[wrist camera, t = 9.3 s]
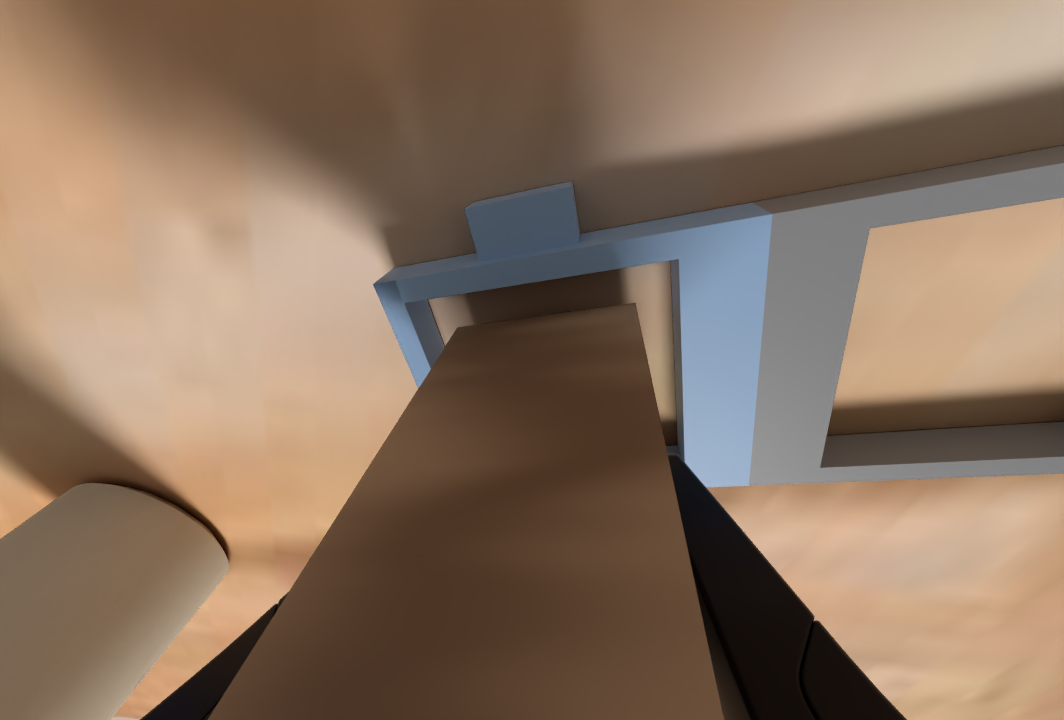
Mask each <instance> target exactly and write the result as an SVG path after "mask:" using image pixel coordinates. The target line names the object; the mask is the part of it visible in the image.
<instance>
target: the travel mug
mask: <svg viewBox="0 0 1064 720" xmlns="http://www.w3.org/2000/svg"><path fill="white" fill-rule="evenodd" d="M228 569H229V564H228V559H227V557H226V554H225V552H224V550H223V548H222V547H221V545H220V544H219V542H218V541H217V540H216V538H215V537H214V535H213V534H212V532H211V531H210V530H209V529H208V528H207V527H206V526H205V525H204V524H202V523H201V522H200V521H199V520H197V519H196V518H194V517H193V516H191V515H190V514H188V513H187V512H185V511H184V510H182V509H181V508H179V507H178V506H176V505H174V504H172V503H170V502H168V501H166V500H163V499H161V498H159V497H157V496H154V495H152V494H150V493H148V492H145V491H142V490H138V489H134V488H129V487H124V486H119V485H111V484H102V483H85V484H80V485H77V486H74V487H72V488H71V489H69V490H68V491H67V492H65V493H64V494H62V495H61V496H60V497H58V498H57V499H55V500H54V501H53V502H51V503H50V504H48V505H47V506H46V507H44V508H43V509H42V510H40V511H39V512H37V513H36V514H35V515H33V516H32V517H30V518H29V519H28V520H26V521H25V522H23V523H22V524H21V525H19V526H18V527H16V528H15V529H14V530H12V531H11V532H9V533H8V534H7V535H5V536H4V537H2V538H1V539H0V720H111V719H112V717H113V716H114V715H115V714H116V712H117V711H118V710H119V709H120V707H121V706H122V705H123V704H124V702H125V701H126V700H127V699H128V697H129V696H130V695H131V693H132V692H133V691H134V690H135V688H136V687H137V686H138V685H139V683H140V682H141V681H142V680H143V678H144V677H145V676H146V675H147V673H148V672H149V671H150V670H151V668H152V667H153V666H154V665H155V663H156V662H157V661H158V660H159V658H160V657H161V656H162V655H163V653H164V652H165V651H166V650H167V648H168V647H169V646H170V645H171V643H172V642H173V641H174V640H175V638H176V637H177V636H178V635H179V633H180V632H181V631H182V629H183V628H184V627H185V626H186V624H187V623H188V622H189V621H190V619H191V618H192V617H193V616H194V614H195V613H196V612H197V611H198V609H199V608H200V607H201V606H202V604H203V603H204V602H205V601H206V599H207V598H208V597H209V596H210V594H211V593H212V592H213V591H214V589H215V588H216V587H217V586H218V584H219V583H220V582H221V581H222V579H223V578H224V577H225V576H226V574H227V572H228Z"/></svg>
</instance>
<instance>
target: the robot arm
mask: <svg viewBox="0 0 1064 720" xmlns="http://www.w3.org/2000/svg"><path fill="white" fill-rule="evenodd" d="M668 459H669V464H670V468H671V473H672V478H673V482H674V487H675V492H676V497H677V501H678V506H679V511H680V515H681V520H682V525H683V529H684V534H685V539H686V544H687V548H688V553H689V558H690V562H691V567H692V572H693V577H694V581H695V586H696V591H697V595H698V600H699V605H700V609H701V614H702V619H703V624H704V628H705V633H706V638H707V642H708V647H709V652H710V656H711V661H712V666H713V671H714V675H715V680H716V685H717V689H718V694H719V699H720V704H721V708H722V713H723V718H724V720H907V719H906V718H905V717H904V716H903V715H902V714H901V713H900V712H899V711H898V710H897V709H896V708H895V707H894V706H893V705H892V704H891V703H890V701H889V700H888V699H887V698H886V697H885V696H884V695H883V694H882V693H881V692H880V691H879V690H878V689H877V688H876V686H875V685H874V684H873V683H872V682H871V681H870V680H869V678H868V677H867V676H866V675H865V674H864V673H863V672H862V671H861V669H860V668H859V667H858V666H857V665H856V664H855V663H854V661H853V660H852V659H851V658H850V657H849V656H848V655H847V654H846V652H845V651H844V650H843V649H842V648H841V647H840V645H839V644H838V643H837V642H836V641H835V639H834V638H833V637H832V636H831V635H830V634H829V632H828V631H827V630H826V629H825V628H824V626H823V625H822V624H821V623H820V622H819V621H817V620H815V621H814V615H813V614H812V613H811V611H810V610H809V609H808V608H807V607H806V605H805V604H804V603H803V602H802V601H801V599H800V598H799V597H798V596H797V595H796V594H795V592H794V591H793V590H792V589H791V588H790V586H789V585H788V584H787V583H786V582H785V581H784V579H783V578H782V577H781V576H780V575H779V573H778V572H777V571H776V570H775V569H774V567H773V566H772V565H771V564H770V563H769V562H768V560H767V559H766V558H765V557H764V556H763V554H762V553H761V552H760V551H759V550H758V548H757V547H756V546H755V545H754V544H753V543H752V541H751V540H750V539H749V538H748V537H747V535H746V534H745V533H744V532H743V531H742V529H741V528H740V527H739V526H738V525H737V524H736V522H735V521H734V520H733V519H732V518H731V516H730V515H729V514H728V513H727V512H726V511H725V509H724V508H723V507H722V506H721V505H720V503H719V502H718V501H717V500H716V499H715V497H714V496H713V495H712V494H711V493H710V492H709V490H708V489H707V488H706V487H705V486H704V484H703V483H702V482H701V481H700V480H699V478H698V477H697V476H696V475H695V474H694V473H693V471H692V470H691V469H690V468H689V467H688V465H687V464H686V463H685V462H684V461H683V460H682V458H681V457H680V456H679V455H677V454H668ZM288 593H289V592H288ZM288 593H287V594H288ZM287 594H286V595H285V596H283V597H282V598H281V599H280V600H279V603H278V604H275V605H274V606H272V607H271V608H270V609H269V610H268V611H267V612H266V613H265V614H264V615H263V616H262V617H260V618H259V619H258V620H257V621H256V622H255V623H254V624H253V625H252V626H250V627H249V628H248V629H247V630H246V631H245V632H244V633H243V634H241V635H240V636H239V637H238V638H237V639H236V640H235V641H234V642H232V643H231V644H230V645H229V646H228V647H227V648H226V649H225V650H223V651H222V652H221V653H220V654H219V655H217V656H216V657H215V658H214V659H213V660H212V661H210V662H209V663H208V664H207V665H206V666H204V667H203V668H202V669H201V670H200V671H198V672H197V673H196V674H195V675H194V676H193V677H191V678H190V679H189V680H188V681H187V682H185V683H184V684H183V685H182V686H180V687H179V688H178V689H177V690H176V691H174V692H173V693H172V694H171V695H170V696H168V697H167V698H166V699H165V700H163V701H162V702H161V703H160V704H159V705H157V706H156V707H155V708H154V709H152V710H151V711H150V712H149V713H148V714H146V715H145V716H144V717H143V718H142V719H140V720H208V718H209V717H210V715H211V714H212V712H213V710H214V709H215V707H216V706H217V704H218V703H219V701H220V699H221V698H222V696H223V695H224V693H225V692H226V690H227V688H228V687H229V685H230V684H231V682H232V681H233V679H234V677H235V676H236V674H237V673H238V671H239V670H240V668H241V666H242V665H243V663H244V662H245V660H246V659H247V657H248V655H249V654H250V652H251V651H252V649H253V648H254V646H255V645H256V643H257V641H258V640H259V638H260V637H261V635H262V634H263V632H264V630H265V629H266V627H267V626H268V624H269V623H270V621H271V619H272V618H273V616H274V615H275V613H276V612H277V610H278V608H279V607H280V605H281V604H282V602H283V601H284V599H285V597H286V596H287ZM813 621H814V622H813Z"/></svg>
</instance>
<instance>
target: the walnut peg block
mask: <svg viewBox="0 0 1064 720" xmlns="http://www.w3.org/2000/svg"><path fill="white" fill-rule="evenodd" d="M208 720H724V718H723V713H722V708H721V704H720V699H719V694H718V689H717V685H716V680H715V675H714V671H713V666H712V661H711V656H710V652H709V647H708V642H707V638H706V633H705V628H704V624H703V619H702V614H701V609H700V605H699V600H698V595H697V591H696V586H695V581H694V577H693V572H692V567H691V562H690V558H689V553H688V548H687V544H686V539H685V534H684V529H683V525H682V520H681V515H680V511H679V506H678V501H677V497H676V492H675V487H674V482H673V478H672V473H671V468H670V464H669V459H668V454H667V450H666V445H665V440H664V435H663V431H662V426H661V421H660V417H659V412H658V407H657V402H656V398H655V393H654V388H653V384H652V379H651V374H650V370H649V365H648V360H647V355H646V351H645V346H644V341H643V337H642V332H641V327H640V323H639V318H638V313H637V308H636V304H635V303H631V304H624V305H616V306H609V307H602V308H595V309H588V310H580V311H573V312H566V313H559V314H552V315H544V316H537V317H530V318H523V319H515V320H508V321H501V322H494V323H487V324H479V325H472V326H465V327H458V328H457V329H456V331H455V332H454V334H453V335H452V337H451V338H450V340H449V342H448V343H447V345H446V346H445V348H444V349H443V351H442V353H441V354H440V356H439V357H438V359H437V360H436V362H435V364H434V365H433V367H432V368H431V370H430V371H429V373H428V375H427V376H426V378H425V379H424V381H423V382H422V384H421V386H420V387H419V389H418V390H417V392H416V393H415V395H414V397H413V398H412V400H411V401H410V403H409V404H408V406H407V408H406V409H405V411H404V412H403V414H402V415H401V417H400V419H399V420H398V422H397V423H396V425H395V426H394V428H393V429H392V431H391V433H390V434H389V436H388V437H387V439H386V440H385V442H384V444H383V445H382V447H381V448H380V450H379V451H378V453H377V455H376V456H375V458H374V459H373V461H372V462H371V464H370V466H369V467H368V469H367V470H366V472H365V473H364V475H363V477H362V478H361V480H360V481H359V483H358V484H357V486H356V488H355V489H354V491H353V492H352V494H351V495H350V497H349V499H348V500H347V502H346V503H345V505H344V506H343V508H342V510H341V511H340V513H339V514H338V516H337V517H336V519H335V521H334V522H333V524H332V525H331V527H330V528H329V530H328V532H327V533H326V535H325V536H324V538H323V539H322V541H321V542H320V544H319V546H318V547H317V549H316V550H315V552H314V553H313V555H312V557H311V558H310V560H309V561H308V563H307V564H306V566H305V568H304V569H303V571H302V572H301V574H300V575H299V577H298V579H297V580H296V582H295V583H294V585H293V586H292V588H291V590H290V591H289V593H288V594H287V596H286V597H285V599H284V601H283V602H282V604H281V605H280V607H279V608H278V610H277V612H276V613H275V615H274V616H273V618H272V619H271V621H270V623H269V624H268V626H267V627H266V629H265V630H264V632H263V634H262V635H261V637H260V638H259V640H258V641H257V643H256V645H255V646H254V648H253V649H252V651H251V652H250V654H249V655H248V657H247V659H246V660H245V662H244V663H243V665H242V666H241V668H240V670H239V671H238V673H237V674H236V676H235V677H234V679H233V681H232V682H231V684H230V685H229V687H228V688H227V690H226V692H225V693H224V695H223V696H222V698H221V699H220V701H219V703H218V704H217V706H216V707H215V709H214V710H213V712H212V714H211V715H210V717H209V718H208Z"/></svg>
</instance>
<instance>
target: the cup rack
mask: <svg viewBox="0 0 1064 720" xmlns="http://www.w3.org/2000/svg"><path fill="white" fill-rule="evenodd" d="M1063 197H1064V145H1062V146H1057V147H1051V148H1046V149H1040V150H1035V151H1029V152H1024V153H1018V154H1013V155H1008V156H1002V157H997V158H991V159H986V160H980V161H975V162H969V163H964V164H959V165H953V166H948V167H942V168H937V169H931V170H926V171H920V172H915V173H909V174H904V175H899V176H893V177H888V178H882V179H877V180H871V181H866V182H860V183H855V184H849V185H844V186H839V187H833V188H828V189H822V190H817V191H811V192H806V193H800V194H795V195H789V196H784V197H779V198H773V199H768V200H762V201H757V202H751V203H746V204H740V205H735V206H729V207H724V208H719V209H713V210H708V211H702V212H697V213H691V214H686V215H680V216H675V217H669V218H664V219H659V220H653V221H648V222H642V223H637V224H631V225H626V226H620V227H615V228H610V229H604V230H599V231H593V232H588V233H582V234H580V229H579V223H578V216H577V209H576V203H575V196H574V189H573V183H572V181H570V182H565V183H560V184H555V185H551V186H546V187H541V188H537V189H532V190H527V191H523V192H518V193H513V194H509V195H504V196H499V197H495V198H490V199H485V200H481V201H476V202H473V203H471V204H470V205H469V206H467V207H466V208H465V209H464V211H465V214H466V218H467V221H468V225H469V228H470V232H471V235H472V239H473V242H474V246H475V249H476V253H473V254H468V255H462V256H457V257H451V258H446V259H440V260H435V261H430V262H424V263H419V264H413V265H408V266H402V267H397V268H393V269H392V270H391V271H389V272H388V273H387V274H386V275H384V276H383V277H382V278H380V279H379V280H378V281H377V282H375V283H374V284H373V285H374V287H375V290H376V292H377V294H378V297H379V299H380V301H381V304H382V306H383V308H384V310H385V313H386V315H387V317H388V320H389V322H390V324H391V326H392V329H393V331H394V333H395V336H396V338H397V340H398V343H399V345H400V347H401V349H402V352H403V354H404V356H405V359H406V361H407V363H408V366H409V368H410V370H411V372H412V375H413V377H414V379H415V382H416V384H417V386H418V389H419V387H420V386H421V384H422V382H423V381H424V379H425V378H426V376H427V375H428V373H429V371H430V370H431V368H432V367H433V365H434V364H435V362H436V360H437V359H438V357H439V356H440V354H441V353H442V351H443V349H444V348H445V347H444V344H443V341H442V338H441V336H440V333H439V330H438V328H437V325H436V322H435V320H434V317H433V314H432V311H431V309H430V306H429V303H428V301H427V299H433V298H439V297H446V296H452V295H458V294H464V293H470V292H477V291H483V290H489V289H495V288H502V287H508V286H514V285H520V284H527V283H533V282H539V281H545V280H552V279H558V278H564V277H570V276H576V275H583V274H589V273H595V272H601V271H608V270H614V269H620V268H626V267H633V266H639V265H645V264H651V263H658V262H664V261H670V260H671V285H672V310H673V336H674V361H675V386H676V412H677V437H678V445H673V446H666V450H667V454H677V455H679V456H680V457H681V458H682V460H683V461H684V462H685V463H686V464H687V465H688V467H689V468H690V469H691V470H692V471H693V473H694V474H695V475H696V476H697V477H698V478H699V480H700V481H701V482H702V483H703V484H704V486H705V487H726V486H752V485H778V484H804V483H830V482H856V481H882V480H908V479H934V478H960V477H986V476H1012V475H1038V474H1064V421H1063V422H1047V423H1031V424H1015V425H998V426H982V427H966V428H949V429H933V430H917V431H901V432H884V433H868V434H852V435H835V436H827V432H828V427H829V422H830V417H831V412H832V408H833V403H834V398H835V393H836V388H837V384H838V379H839V374H840V369H841V364H842V360H843V355H844V350H845V345H846V340H847V336H848V331H849V326H850V321H851V316H852V312H853V307H854V302H855V297H856V292H857V288H858V283H859V278H860V273H861V268H862V264H863V259H864V254H865V249H866V244H867V240H868V235H869V230H870V228H876V227H882V226H888V225H894V224H901V223H907V222H913V221H919V220H926V219H932V218H938V217H944V216H951V215H957V214H963V213H969V212H976V211H982V210H988V209H994V208H1001V207H1007V206H1013V205H1019V204H1025V203H1032V202H1038V201H1044V200H1050V199H1057V198H1063Z"/></svg>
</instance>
